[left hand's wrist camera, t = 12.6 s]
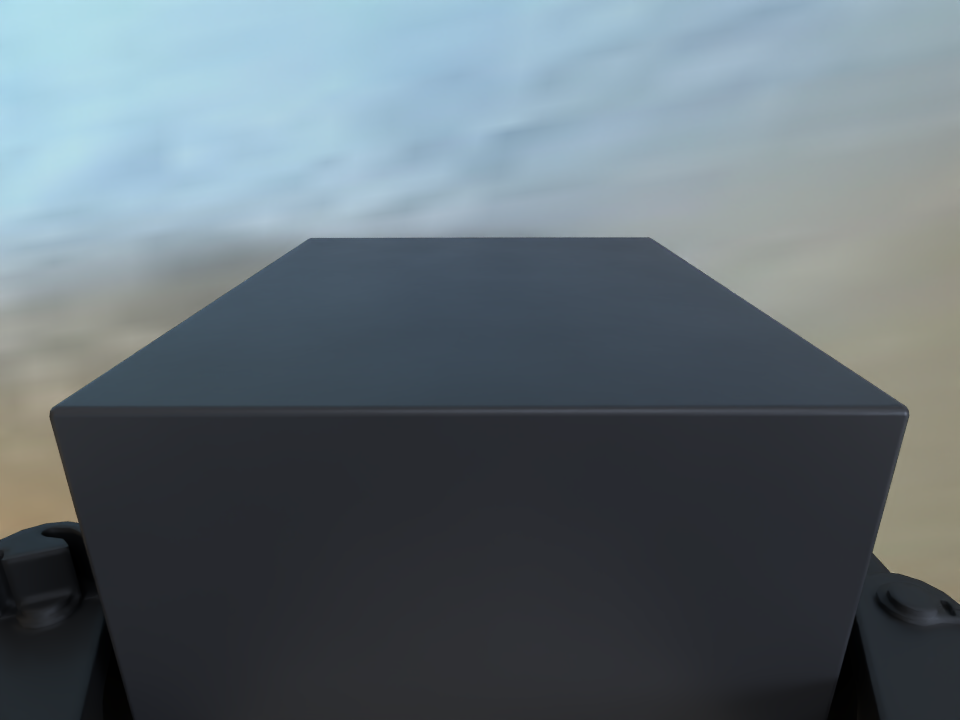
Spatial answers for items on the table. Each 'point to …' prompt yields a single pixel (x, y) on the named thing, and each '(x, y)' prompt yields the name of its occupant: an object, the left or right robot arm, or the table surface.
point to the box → (479, 492)
